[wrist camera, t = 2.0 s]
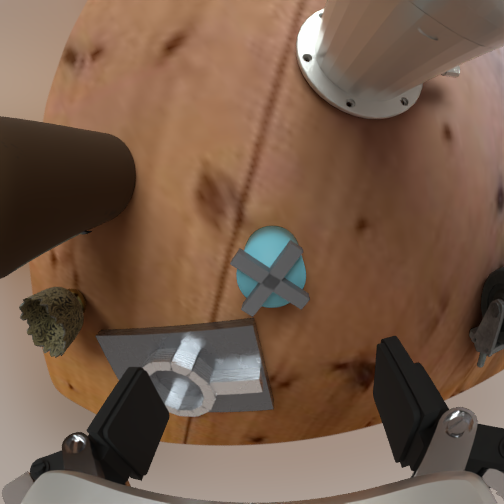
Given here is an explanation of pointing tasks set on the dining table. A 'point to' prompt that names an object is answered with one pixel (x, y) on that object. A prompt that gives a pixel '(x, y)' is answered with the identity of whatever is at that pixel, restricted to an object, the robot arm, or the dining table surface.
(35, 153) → the olive oil
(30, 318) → the cup
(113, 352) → the coupling base
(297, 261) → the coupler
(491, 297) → the caster wheel
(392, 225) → the dining table surface
